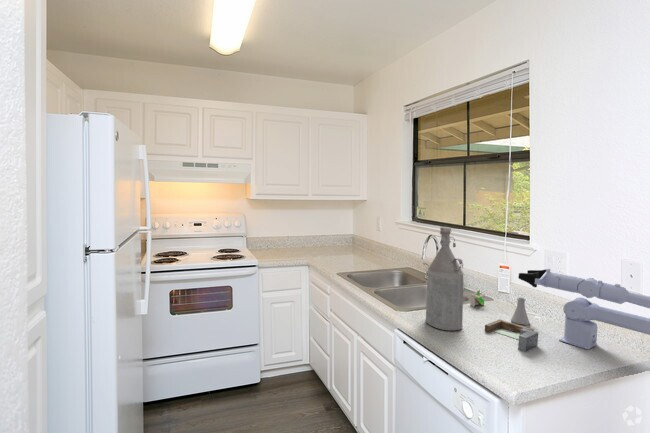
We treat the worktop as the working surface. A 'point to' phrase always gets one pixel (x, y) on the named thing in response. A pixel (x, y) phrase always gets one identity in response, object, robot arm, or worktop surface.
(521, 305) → the flask
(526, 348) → the bracket
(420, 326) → the worktop surface
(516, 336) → the pad
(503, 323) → the grey and brown piece
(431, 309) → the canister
